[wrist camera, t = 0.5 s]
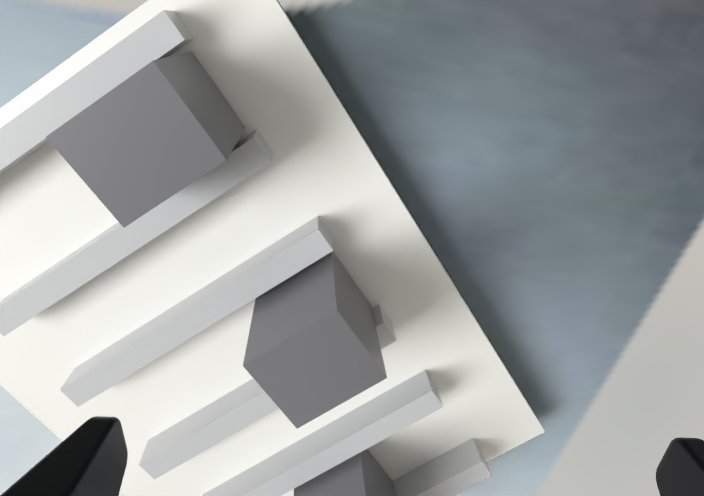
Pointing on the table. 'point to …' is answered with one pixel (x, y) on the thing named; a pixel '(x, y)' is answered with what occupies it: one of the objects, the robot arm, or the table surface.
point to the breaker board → (233, 280)
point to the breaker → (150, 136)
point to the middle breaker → (314, 341)
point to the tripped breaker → (350, 479)
